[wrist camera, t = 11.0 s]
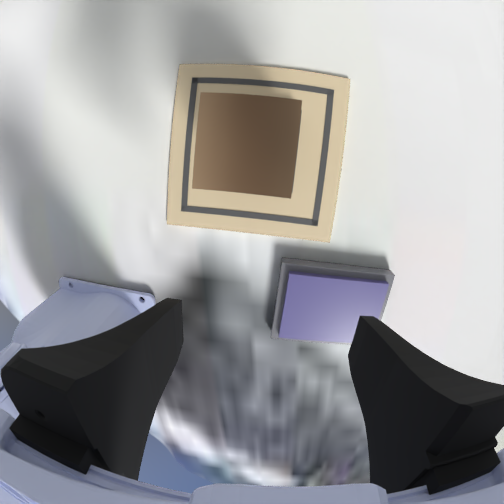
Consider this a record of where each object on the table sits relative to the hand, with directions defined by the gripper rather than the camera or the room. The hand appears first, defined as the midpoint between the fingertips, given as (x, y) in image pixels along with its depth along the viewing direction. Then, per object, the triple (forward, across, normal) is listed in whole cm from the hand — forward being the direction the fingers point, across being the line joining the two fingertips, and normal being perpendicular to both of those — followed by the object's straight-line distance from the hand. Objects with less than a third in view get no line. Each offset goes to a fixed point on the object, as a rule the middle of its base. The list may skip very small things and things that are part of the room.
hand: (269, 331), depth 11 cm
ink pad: (+9, -5, +3) cm, 11 cm away
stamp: (+9, +2, -7) cm, 11 cm away
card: (+9, +2, -7) cm, 12 cm away
